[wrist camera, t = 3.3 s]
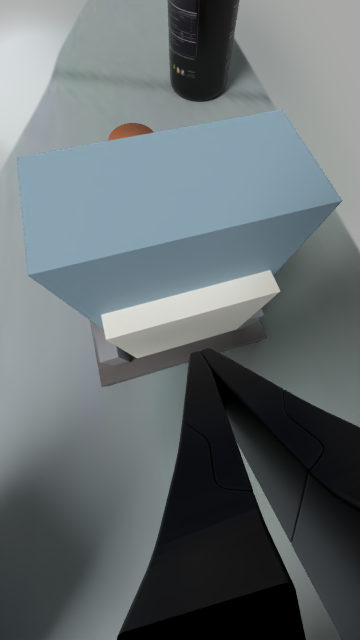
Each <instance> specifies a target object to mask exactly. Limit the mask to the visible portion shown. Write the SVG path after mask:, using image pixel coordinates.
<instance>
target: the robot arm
mask: <svg viewBox="0 0 360 640" xmlns="http://www.w3.org/2000/svg"><path fill="white" fill-rule="evenodd" d="M235 439H236V440H235ZM236 441H237V443H238V445H239V447H240V449H241V450H242V452H243V454H244V456H245V458H246V460H247V462H248V464H249V465H250V467H251V469H252V471H253V473H254V475H255V477H256V479H257V481H258V482H259V484H260V486H261V488H262V490H263V492H264V494H265V496H266V497H267V499H268V501H269V503H270V505H271V507H272V509H273V511H274V512H275V514H276V516H277V518H278V520H279V522H280V524H281V526H282V528H283V529H284V531H285V533H286V535H287V537H288V539H289V541H290V542H291V543H292V547H293V548H294V550H295V552H296V554H297V556H298V558H299V560H300V562H301V563H302V565H303V567H304V569H305V571H306V573H307V575H308V577H309V578H310V580H311V582H312V584H313V586H314V588H315V590H316V592H317V594H318V595H319V597H320V599H321V601H322V603H323V605H324V607H325V609H326V610H327V612H328V614H329V616H330V618H331V620H332V622H333V624H334V626H335V627H336V629H337V631H338V633H339V635H340V637H341V639H342V640H360V427H358V426H356V425H354V424H352V423H349V422H347V421H345V420H343V419H341V418H339V417H336V416H334V415H332V414H330V413H328V412H326V411H324V410H322V409H320V408H318V407H316V406H314V405H312V404H310V403H308V402H306V401H304V400H302V399H301V398H299V397H297V396H295V395H293V394H291V393H290V392H288V391H286V390H283V389H282V388H281V387H279V386H277V385H275V384H274V383H272V382H270V381H268V380H266V379H265V378H263V377H261V376H259V375H258V374H256V373H254V372H252V371H251V370H249V369H247V368H245V367H243V366H242V365H240V364H238V363H236V362H235V361H233V360H231V359H229V358H228V357H226V356H224V355H222V354H220V353H219V352H217V351H215V350H213V349H212V348H205V349H202V350H200V351H195V352H192V353H190V357H189V366H188V375H187V384H186V393H185V401H184V410H183V419H182V427H181V435H180V442H179V449H178V454H177V459H176V464H175V469H174V473H173V477H172V481H171V485H170V490H169V494H168V498H167V502H166V506H165V510H164V514H163V518H162V522H161V526H160V530H159V534H158V538H157V541H156V544H155V548H154V551H153V554H152V557H151V560H150V563H149V565H148V568H147V571H146V573H145V576H144V578H143V580H142V582H141V584H140V587H139V589H138V591H137V594H136V596H135V598H134V600H133V603H132V605H131V607H130V609H129V612H128V614H127V616H126V618H125V621H124V623H123V625H122V627H121V630H120V632H119V634H118V637H117V640H306V638H305V634H304V629H303V624H302V619H301V614H300V609H299V604H298V599H297V595H296V590H295V587H294V585H293V582H292V580H291V578H290V576H289V574H288V572H287V569H286V567H285V565H284V563H283V561H282V559H281V557H280V554H279V552H278V550H277V548H276V546H275V544H274V542H273V539H272V537H271V535H270V533H269V531H268V529H267V526H266V524H265V522H264V519H263V516H262V514H261V511H260V509H259V506H258V503H257V501H256V498H255V495H254V493H253V489H252V486H251V483H250V480H249V477H248V474H247V472H246V469H245V466H244V463H243V460H242V457H241V454H240V451H239V448H238V445H237V443H236Z"/></svg>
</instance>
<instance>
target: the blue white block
mask: <svg viewBox="0 0 360 640" xmlns="http://www.w3.org/2000/svg"><path fill="white" fill-rule="evenodd" d="M17 166H18V177H19V188H20V198H21V209H22V220H23V230H24V241H25V251H26V262H27V273H28V276H29V277H31V278H32V279H34V280H35V281H36V282H38V283H39V284H41V285H42V286H43V287H45V288H46V289H48V290H49V291H50V292H52V293H53V294H55V295H56V296H57V297H59V298H60V299H62V300H63V301H64V302H66V303H67V304H68V305H70V306H71V307H73V308H74V309H75V310H77V311H78V312H80V313H81V314H82V315H84V316H85V317H87V318H88V319H89V320H91V321H92V322H94V323H95V324H96V325H98V326H99V327H101V328H102V329H103V330H104V333H105V338H106V340H107V341H109V342H110V343H112V344H114V345H115V346H117V347H119V348H120V349H122V350H124V351H126V352H127V353H129V354H131V355H132V356H134V357H136V358H140V357H144V356H147V355H151V354H154V353H158V352H161V351H164V350H168V349H171V348H175V347H178V346H182V345H185V344H188V343H192V342H195V341H199V340H202V339H206V338H209V337H213V336H216V335H219V334H223V333H226V332H230V331H233V330H236V329H238V328H239V327H240V326H241V325H242V324H243V323H245V322H246V321H247V320H248V319H249V318H250V317H251V316H253V315H254V314H255V313H256V312H257V311H258V310H260V309H261V308H262V307H263V306H264V305H265V304H266V303H268V302H269V301H270V300H271V299H272V298H273V297H275V296H276V295H277V294H278V293H279V292H280V289H279V287H278V285H277V283H276V281H275V279H274V277H273V276H274V275H275V273H276V272H277V271H278V270H279V269H280V268H281V267H282V266H283V265H284V264H285V263H286V261H287V260H288V259H289V258H290V257H291V256H292V255H293V254H294V253H295V252H296V251H297V250H298V248H299V247H300V246H301V245H302V244H303V243H304V242H305V241H306V240H307V239H308V238H309V236H310V235H311V234H312V233H313V232H314V231H315V230H316V229H317V228H318V227H319V226H320V224H321V223H322V222H323V221H324V220H325V219H326V218H327V217H328V216H329V215H330V214H331V212H332V211H333V210H334V209H335V208H336V207H337V206H338V205H339V204H340V203H341V202H342V200H341V198H340V196H339V195H338V193H337V192H336V190H335V189H334V187H333V186H332V184H331V183H330V181H329V180H328V178H327V176H326V175H325V174H324V172H323V170H322V169H321V168H320V166H319V164H318V163H317V161H316V160H315V158H314V157H313V155H312V154H311V152H310V151H309V149H308V147H307V146H306V145H305V143H304V142H303V140H302V138H301V137H300V136H299V134H298V132H297V131H296V129H295V128H294V126H293V125H292V123H291V122H290V120H289V119H288V117H287V116H286V114H285V112H284V111H283V110H276V111H270V112H265V113H259V114H253V115H248V116H242V117H237V118H231V119H226V120H220V121H215V122H209V123H204V124H198V125H193V126H187V127H182V128H176V129H171V130H165V131H160V132H154V133H149V134H143V135H138V136H132V137H127V138H121V139H116V140H110V141H105V142H99V143H94V144H88V145H83V146H77V147H72V148H66V149H61V150H55V151H50V152H44V153H39V154H33V155H28V156H22V157H17Z"/></svg>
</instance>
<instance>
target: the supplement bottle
mask: <svg viewBox="0 0 360 640" xmlns="http://www.w3.org/2000/svg"><path fill="white" fill-rule="evenodd" d="M238 6H239V0H168V27H169V59H170V80H171V85H172V87H173V89H174V91H175V92H176V93H177V94H178V95H179V96H181V97H183V98H185V99H188V100H192V101H205V100H210V99H212V98H215V97H216V96H218V95H219V94H220V93H221V92H222V91H223V89H224V87H225V85H226V81H227V76H228V70H229V64H230V58H231V51H232V45H233V39H234V32H235V26H236V20H237V13H238Z"/></svg>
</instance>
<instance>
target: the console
mask: <svg viewBox="0 0 360 640" xmlns="http://www.w3.org/2000/svg"><path fill="white" fill-rule="evenodd" d="M149 133H154V132H153V131H152V130H151V129H150V128H149V127H147V126H145V125H142V124H137V123H129V124H124V125H121V126H119V127H117V128H116V129H114V130H113V131H112V132H111V134H110V136H109V141H110V140H116V139H121V138H127V137H132V136H138V135H143V134H149ZM263 316H264V313H263V311H262V308H261V309H260V310H258V311H257V312H256V313H255V314H254V315H253V316H251V317H250V318H249V319H248V320H247V321H246V322H245V323H243V324H242V325H241V326H240V327H239V328H238V329H236V330H233V331H230V332H226V333H223V334H219V335H216V336H213V337H209V338H206V339H202V340H199V341H195V342H192V343H188V344H185V345H182V346H178V347H175V348H171V349H168V350H164V351H161V352H158V353H154V354H151V355H147V356H144V357H140V358H136V357H134V356H132V355H131V354H129V353H127V352H126V351H124V350H122V349H120V348H119V347H117V346H115V345H114V344H112V343H110V342H109V341H107V340H106V338H105V333H104V330H103V329H102V328H101V327H99V326H98V325H96V324H95V323H94V322H92V321H91V320H90V323H91V329H92V335H93V340H94V346H95V352H96V357H97V363H98V368H99V374H100V380H101V385H102V387H103V386H110V385H113V384H116V383H120V382H123V381H126V380H130V379H133V378H136V377H140V376H143V375H146V374H150V373H153V372H156V371H160V370H163V369H166V368H170V367H173V366H176V365H180V364H183V363H186V362H189V357H190V353H192V352H195V351H200V350H202V349H205V348H212V349H213V350H215V351H217V352H219V353H220V352H223V351H226V350H230V349H233V348H236V347H240V346H243V345H246V344H250V343H253V342H256V341H260V340H262V339H264V338H266V337H267V336H266V334H265V332H264V329H263V327H262V324H261V322H260V320H259V319H260V318H261V317H263Z"/></svg>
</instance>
